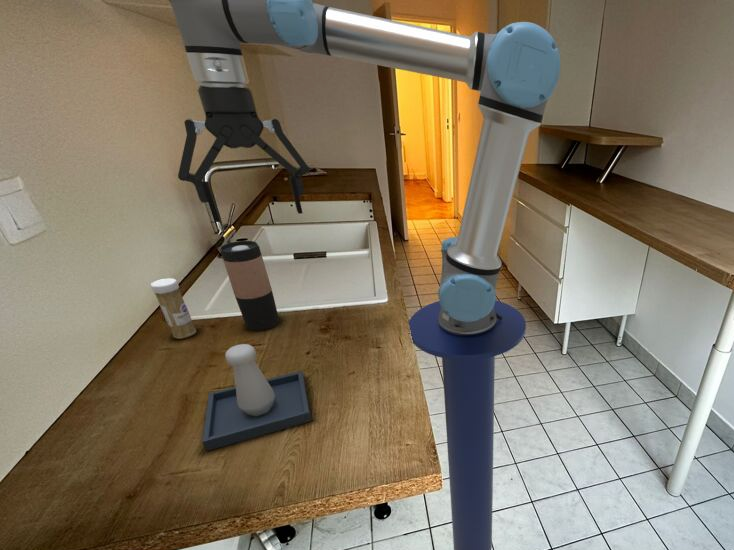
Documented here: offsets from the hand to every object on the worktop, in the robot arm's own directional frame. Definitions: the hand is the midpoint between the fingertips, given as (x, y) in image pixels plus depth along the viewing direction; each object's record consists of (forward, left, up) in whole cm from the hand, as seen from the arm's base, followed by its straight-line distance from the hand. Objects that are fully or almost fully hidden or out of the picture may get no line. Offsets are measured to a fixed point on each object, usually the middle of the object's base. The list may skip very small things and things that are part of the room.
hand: (260, 216), depth 78 cm
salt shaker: (+7, +19, -30) cm, 36 cm away
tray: (+7, +19, -30) cm, 36 cm away
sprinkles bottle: (+22, -18, -30) cm, 42 cm away
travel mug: (+6, -16, -30) cm, 35 cm away
